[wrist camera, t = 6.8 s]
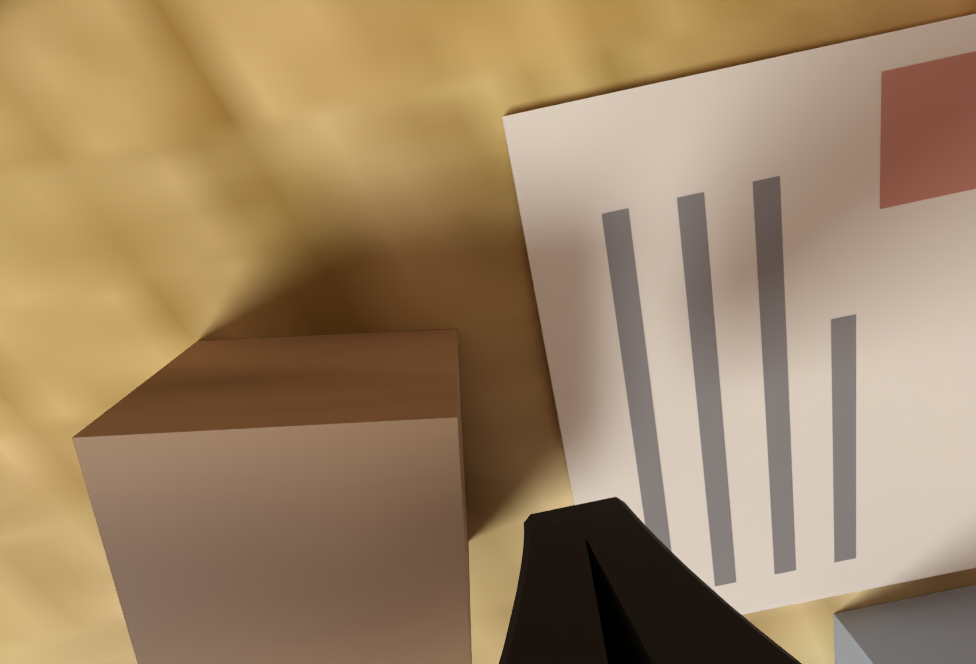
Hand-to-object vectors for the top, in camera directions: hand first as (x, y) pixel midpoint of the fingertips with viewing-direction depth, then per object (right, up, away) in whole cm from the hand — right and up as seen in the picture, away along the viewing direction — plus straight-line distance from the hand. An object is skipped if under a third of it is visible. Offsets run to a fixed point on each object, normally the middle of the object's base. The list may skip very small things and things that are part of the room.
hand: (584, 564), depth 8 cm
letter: (+4, +2, +4) cm, 6 cm away
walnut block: (-4, +1, +4) cm, 6 cm away
